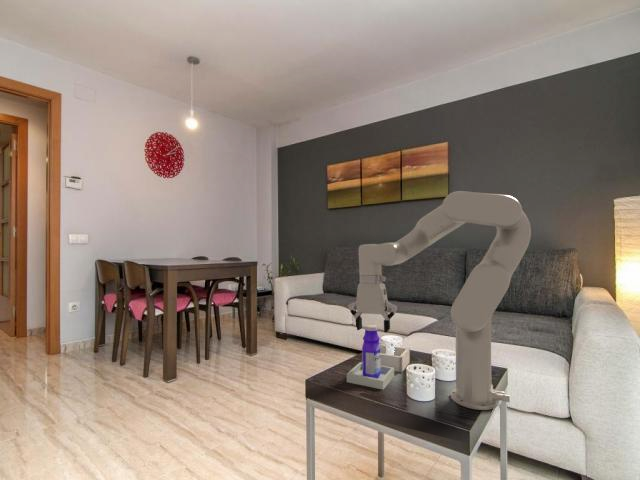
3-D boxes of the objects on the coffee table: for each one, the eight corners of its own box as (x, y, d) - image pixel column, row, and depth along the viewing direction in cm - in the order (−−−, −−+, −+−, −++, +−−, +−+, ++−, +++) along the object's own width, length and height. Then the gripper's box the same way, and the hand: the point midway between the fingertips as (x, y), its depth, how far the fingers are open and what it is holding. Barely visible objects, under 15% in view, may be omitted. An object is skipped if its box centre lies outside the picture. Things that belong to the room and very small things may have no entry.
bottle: (376, 382, 110) (375, 328, 110) (359, 378, 113) (359, 326, 113) (383, 374, 117) (382, 324, 117) (367, 371, 119) (367, 322, 120)
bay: (409, 362, 131) (409, 348, 131) (401, 373, 120) (401, 357, 120) (380, 357, 136) (379, 344, 136) (369, 367, 126) (369, 352, 126)
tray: (394, 375, 118) (394, 367, 118) (383, 389, 106) (383, 380, 106) (360, 369, 124) (360, 361, 124) (346, 382, 112) (346, 373, 112)
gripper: (398, 279, 115) (400, 329, 114) (351, 278, 123) (353, 326, 122) (392, 281, 108) (394, 335, 107) (343, 280, 116) (345, 330, 116)
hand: (372, 330), depth 115 cm, fingers open, 9 cm apart
